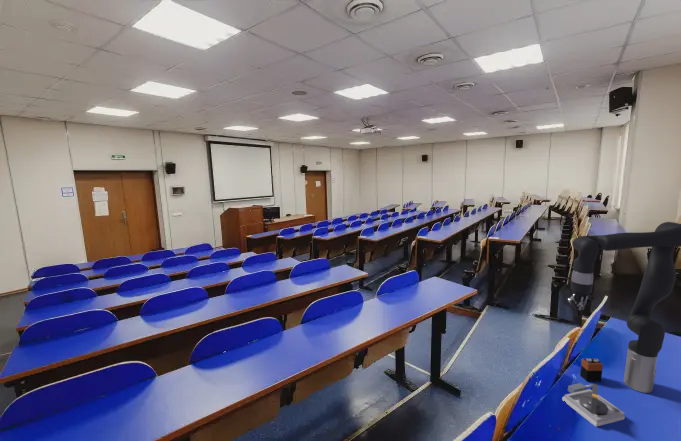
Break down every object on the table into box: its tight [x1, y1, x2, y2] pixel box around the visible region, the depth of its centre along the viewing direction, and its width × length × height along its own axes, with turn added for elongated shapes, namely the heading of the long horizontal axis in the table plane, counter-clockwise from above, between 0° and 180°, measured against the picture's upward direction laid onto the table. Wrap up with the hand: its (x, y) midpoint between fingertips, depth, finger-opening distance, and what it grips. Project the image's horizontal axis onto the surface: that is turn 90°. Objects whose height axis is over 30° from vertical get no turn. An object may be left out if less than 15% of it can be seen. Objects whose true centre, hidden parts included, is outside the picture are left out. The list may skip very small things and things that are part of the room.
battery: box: [579, 357, 604, 382], centre depth 139 cm, size 4×7×10 cm, turn 89°
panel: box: [561, 388, 625, 427], centre depth 122 cm, size 14×14×3 cm
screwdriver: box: [567, 382, 594, 394], centre depth 133 cm, size 14×3×3 cm, turn 103°
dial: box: [579, 383, 608, 415], centre depth 120 cm, size 12×9×9 cm
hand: (578, 316), depth 137 cm, fingers closed
